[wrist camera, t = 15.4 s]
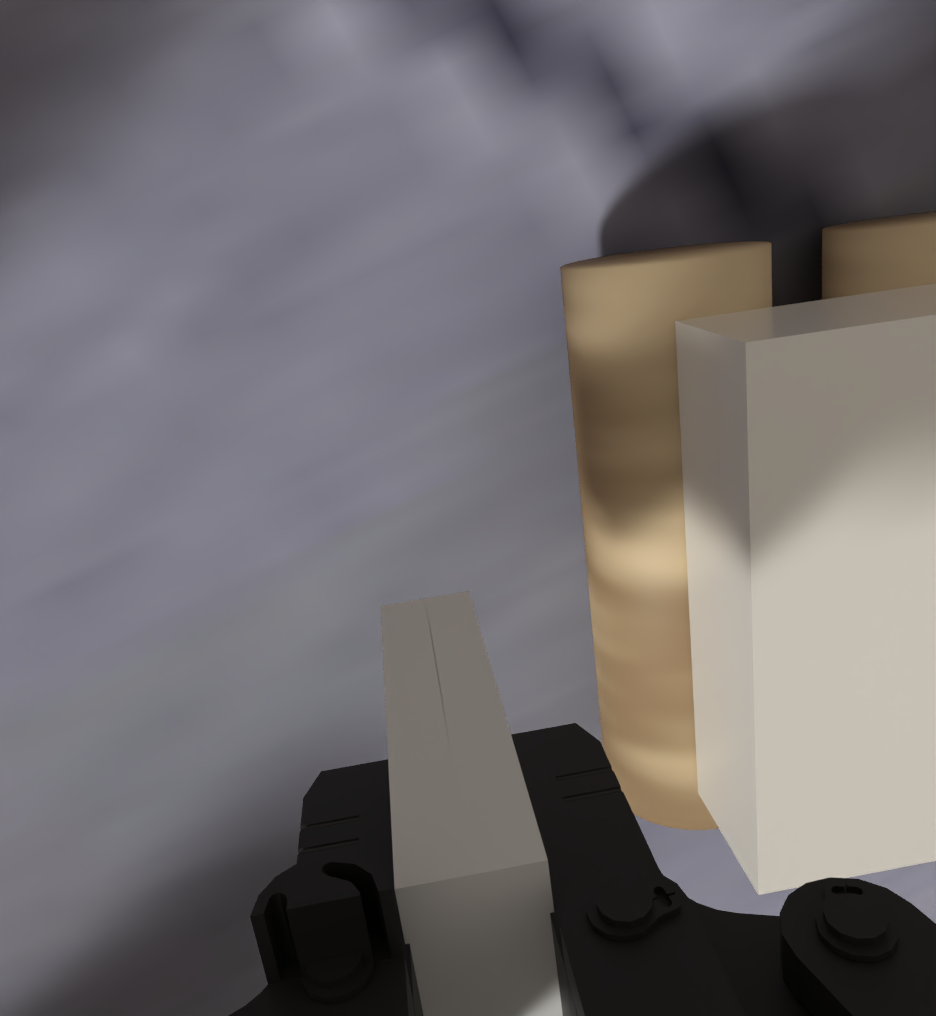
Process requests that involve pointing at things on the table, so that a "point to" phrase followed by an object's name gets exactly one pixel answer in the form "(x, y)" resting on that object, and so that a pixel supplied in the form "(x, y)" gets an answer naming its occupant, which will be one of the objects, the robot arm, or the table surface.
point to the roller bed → (671, 471)
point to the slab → (814, 580)
